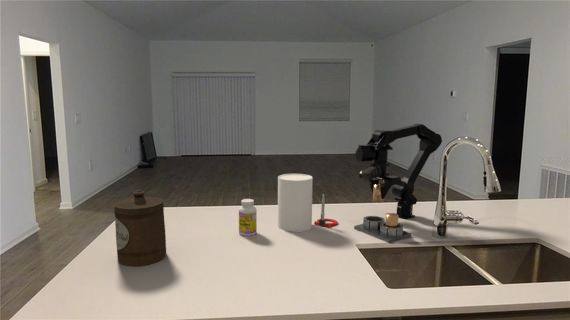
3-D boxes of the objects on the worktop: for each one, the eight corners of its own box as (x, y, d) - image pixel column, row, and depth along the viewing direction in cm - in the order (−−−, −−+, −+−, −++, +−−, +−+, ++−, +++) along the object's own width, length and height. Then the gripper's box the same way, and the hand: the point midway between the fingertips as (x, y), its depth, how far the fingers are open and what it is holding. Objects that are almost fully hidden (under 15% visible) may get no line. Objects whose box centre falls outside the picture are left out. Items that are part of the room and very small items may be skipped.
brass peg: (378, 199, 172) (379, 183, 171) (386, 201, 168) (386, 185, 167) (370, 200, 169) (371, 184, 168) (378, 203, 165) (379, 186, 164)
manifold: (354, 228, 157) (354, 208, 156) (376, 223, 164) (377, 204, 163) (388, 242, 142) (389, 220, 141) (411, 236, 149) (412, 215, 148)
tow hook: (323, 220, 170) (311, 224, 163) (324, 190, 169) (313, 193, 161) (341, 223, 165) (330, 228, 158) (342, 192, 164) (332, 196, 156)
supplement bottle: (235, 234, 150) (234, 201, 148) (245, 229, 156) (244, 197, 154) (250, 237, 147) (250, 203, 145) (259, 232, 153) (259, 199, 151)
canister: (312, 221, 166) (313, 174, 163) (311, 232, 153) (311, 181, 150) (279, 220, 168) (279, 173, 165) (275, 231, 154) (276, 180, 151)
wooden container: (118, 251, 133) (114, 186, 130) (164, 246, 138) (161, 183, 135) (116, 269, 120) (112, 197, 116) (168, 262, 125) (165, 193, 121)
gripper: (350, 159, 169) (349, 195, 172) (383, 165, 154) (381, 205, 156) (369, 157, 175) (368, 192, 178) (403, 163, 160) (400, 201, 162)
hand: (378, 197), depth 168 cm, fingers closed on brass peg, 4 cm apart
